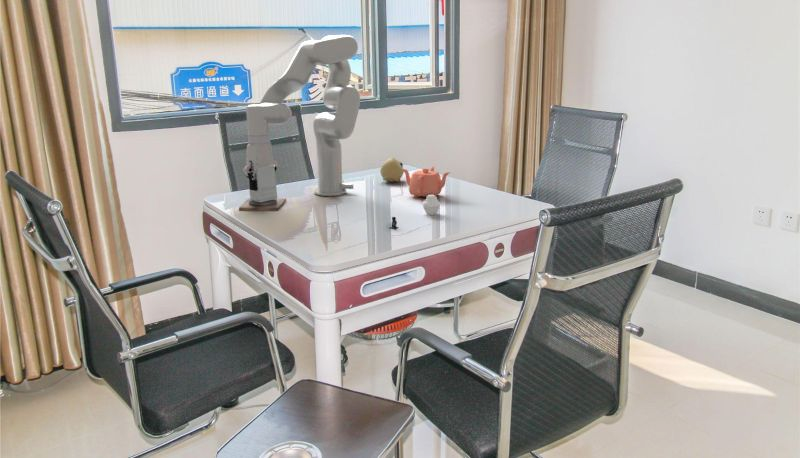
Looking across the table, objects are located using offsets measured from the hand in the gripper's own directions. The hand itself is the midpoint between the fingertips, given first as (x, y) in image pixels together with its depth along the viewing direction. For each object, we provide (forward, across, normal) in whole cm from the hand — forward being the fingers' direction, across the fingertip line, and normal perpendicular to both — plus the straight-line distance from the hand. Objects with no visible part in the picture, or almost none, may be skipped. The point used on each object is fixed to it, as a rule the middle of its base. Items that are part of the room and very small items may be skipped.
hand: (262, 187), depth 226 cm
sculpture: (+7, +1, +56) cm, 56 cm away
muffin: (+7, -21, +58) cm, 62 cm away
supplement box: (+5, 0, 0) cm, 5 cm away
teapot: (+7, -44, +43) cm, 63 cm away
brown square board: (+7, 0, 0) cm, 7 cm away
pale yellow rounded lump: (+7, -60, +18) cm, 63 cm away
